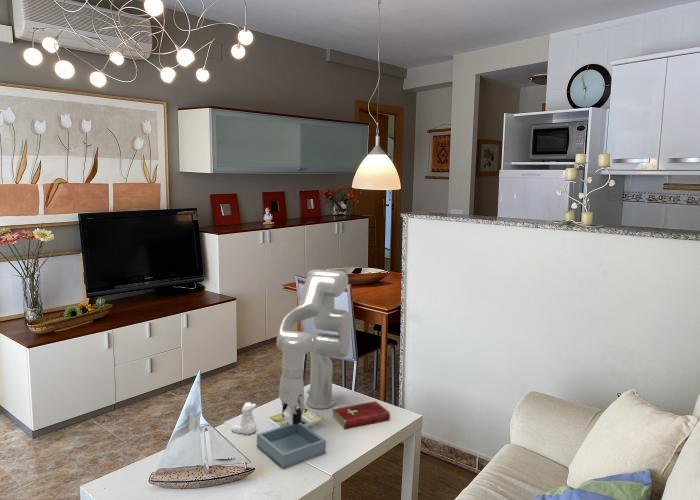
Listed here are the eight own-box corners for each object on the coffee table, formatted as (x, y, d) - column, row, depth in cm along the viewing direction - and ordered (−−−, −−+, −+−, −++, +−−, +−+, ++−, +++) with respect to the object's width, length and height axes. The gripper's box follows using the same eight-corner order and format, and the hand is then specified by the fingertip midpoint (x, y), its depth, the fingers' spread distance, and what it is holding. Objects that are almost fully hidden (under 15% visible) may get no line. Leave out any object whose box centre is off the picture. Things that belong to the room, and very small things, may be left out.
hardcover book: (389, 421, 222) (390, 411, 221) (344, 430, 212) (344, 420, 212) (375, 409, 232) (376, 400, 232) (331, 418, 223) (331, 408, 222)
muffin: (293, 427, 190) (293, 409, 188) (279, 423, 193) (279, 404, 192) (303, 421, 195) (303, 403, 194) (289, 416, 198) (290, 398, 197)
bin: (256, 447, 197) (257, 434, 196) (297, 433, 208) (298, 421, 207) (282, 469, 183) (283, 455, 182) (325, 453, 194) (325, 440, 193)
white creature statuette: (249, 423, 215) (249, 394, 213) (263, 430, 209) (264, 401, 208) (230, 431, 208) (230, 402, 206) (244, 439, 202) (244, 409, 200)
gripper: (271, 366, 195) (270, 413, 198) (297, 382, 182) (296, 432, 185) (288, 362, 200) (287, 408, 203) (315, 377, 187) (313, 426, 189)
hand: (291, 419), depth 194 cm, fingers closed on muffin, 6 cm apart
